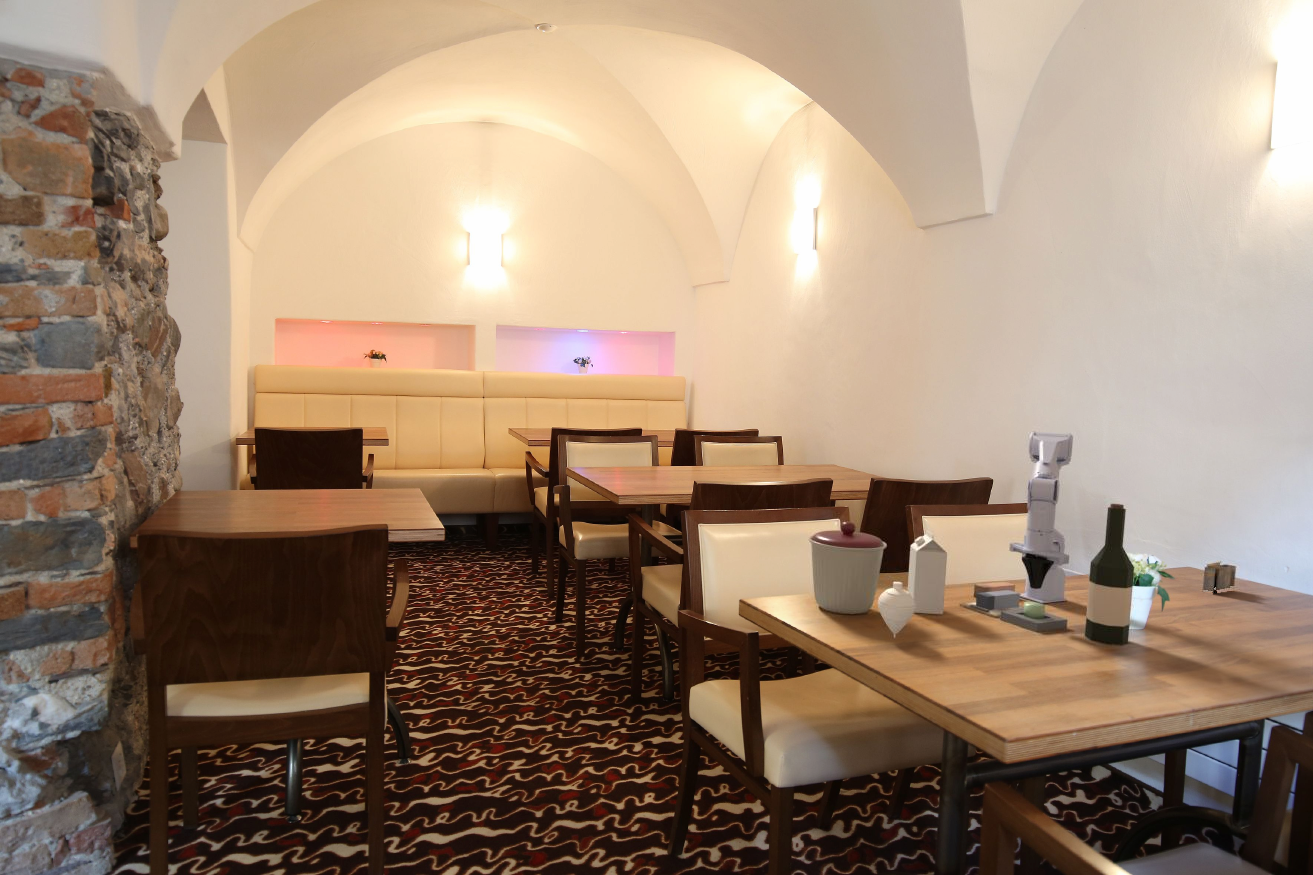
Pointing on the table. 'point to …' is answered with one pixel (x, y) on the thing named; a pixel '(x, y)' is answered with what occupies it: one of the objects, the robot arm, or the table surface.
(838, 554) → the canister
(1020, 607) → the tan flat tray
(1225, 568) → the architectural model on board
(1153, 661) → the table surface
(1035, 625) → the button housing
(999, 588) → the block
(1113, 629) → the wine bottle
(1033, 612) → the button
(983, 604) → the grey rectangular bar
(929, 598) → the milk carton
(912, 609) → the spinning top
